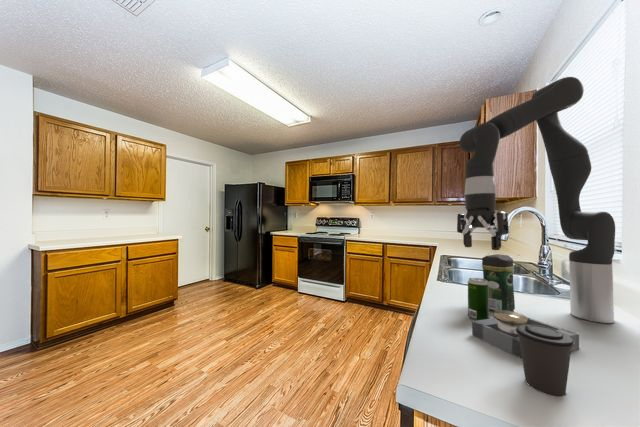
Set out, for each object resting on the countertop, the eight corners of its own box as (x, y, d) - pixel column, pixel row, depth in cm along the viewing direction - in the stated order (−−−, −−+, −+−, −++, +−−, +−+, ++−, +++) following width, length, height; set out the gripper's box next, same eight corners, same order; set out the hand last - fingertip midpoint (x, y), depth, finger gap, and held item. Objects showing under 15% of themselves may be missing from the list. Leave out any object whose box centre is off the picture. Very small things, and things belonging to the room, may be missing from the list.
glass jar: (506, 336, 64) (506, 309, 64) (534, 348, 58) (534, 318, 58) (488, 339, 62) (487, 311, 62) (515, 352, 56) (514, 321, 56)
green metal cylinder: (483, 324, 72) (483, 282, 72) (464, 318, 76) (464, 278, 77) (492, 320, 75) (491, 280, 75) (473, 315, 79) (472, 276, 80)
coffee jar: (492, 303, 91) (491, 252, 91) (518, 310, 84) (517, 255, 85) (478, 308, 86) (477, 253, 86) (505, 315, 79) (504, 256, 80)
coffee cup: (505, 371, 49) (504, 319, 49) (548, 373, 48) (546, 320, 49) (540, 401, 41) (539, 338, 41) (592, 403, 40) (590, 340, 41)
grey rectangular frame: (519, 327, 70) (519, 314, 70) (579, 349, 58) (578, 334, 58) (472, 334, 65) (472, 321, 65) (527, 361, 53) (526, 344, 53)
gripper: (514, 191, 68) (515, 250, 68) (467, 196, 82) (468, 246, 81) (494, 189, 66) (496, 251, 65) (450, 195, 79) (451, 246, 79)
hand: (481, 248), depth 73 cm, fingers open, 8 cm apart
